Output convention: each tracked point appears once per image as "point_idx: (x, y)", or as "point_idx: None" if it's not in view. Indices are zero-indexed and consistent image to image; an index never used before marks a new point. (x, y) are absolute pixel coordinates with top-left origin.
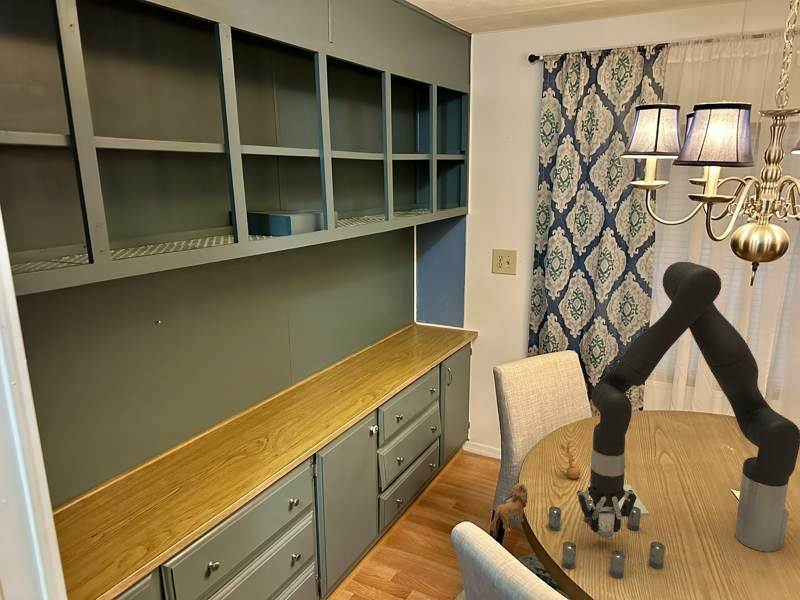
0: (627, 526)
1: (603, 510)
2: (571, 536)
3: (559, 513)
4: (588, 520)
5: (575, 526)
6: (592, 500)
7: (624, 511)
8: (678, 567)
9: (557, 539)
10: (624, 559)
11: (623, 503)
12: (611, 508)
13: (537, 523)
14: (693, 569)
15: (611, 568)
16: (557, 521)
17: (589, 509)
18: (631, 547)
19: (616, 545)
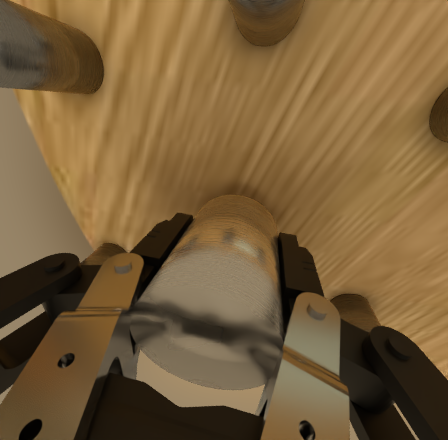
0: (437, 108)
1: (183, 345)
2: (140, 140)
3: (7, 81)
4: (244, 32)
5: (171, 66)
6: (39, 355)
7: (354, 401)
8: (406, 327)
9: (90, 151)
10: None
11: (431, 435)
12: (267, 347)
13: None
14: (443, 341)
15: None
16: (48, 90)
17: (236, 2)
18: (333, 235)
19: (285, 216)
